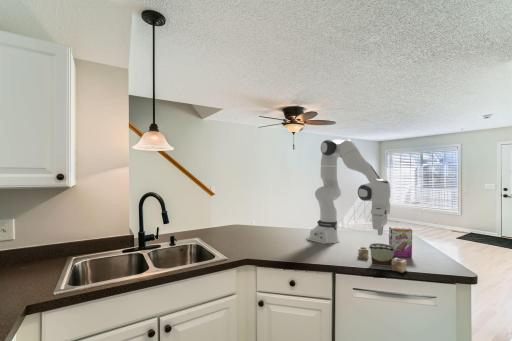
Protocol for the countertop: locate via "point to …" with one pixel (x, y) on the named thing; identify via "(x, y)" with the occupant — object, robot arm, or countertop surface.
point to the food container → (381, 254)
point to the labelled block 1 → (363, 252)
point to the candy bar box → (401, 241)
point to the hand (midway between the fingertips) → (380, 234)
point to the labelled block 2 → (399, 265)
